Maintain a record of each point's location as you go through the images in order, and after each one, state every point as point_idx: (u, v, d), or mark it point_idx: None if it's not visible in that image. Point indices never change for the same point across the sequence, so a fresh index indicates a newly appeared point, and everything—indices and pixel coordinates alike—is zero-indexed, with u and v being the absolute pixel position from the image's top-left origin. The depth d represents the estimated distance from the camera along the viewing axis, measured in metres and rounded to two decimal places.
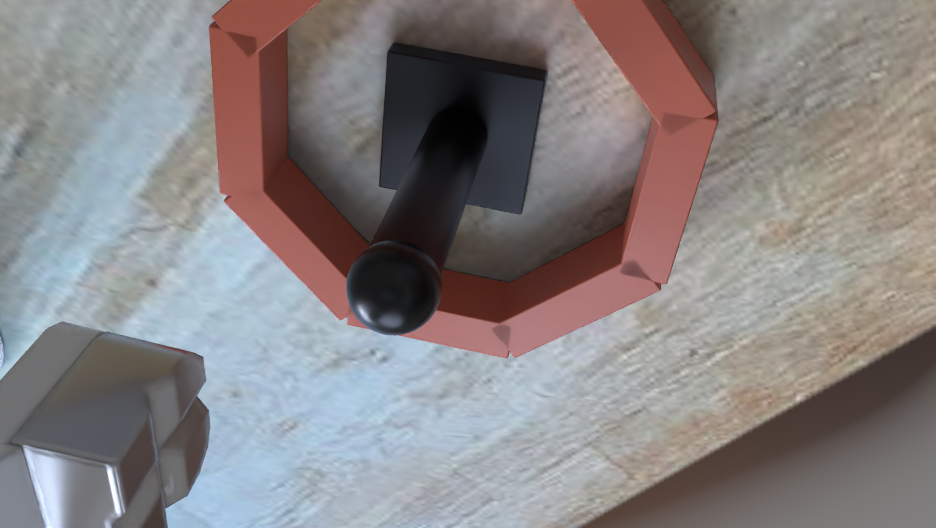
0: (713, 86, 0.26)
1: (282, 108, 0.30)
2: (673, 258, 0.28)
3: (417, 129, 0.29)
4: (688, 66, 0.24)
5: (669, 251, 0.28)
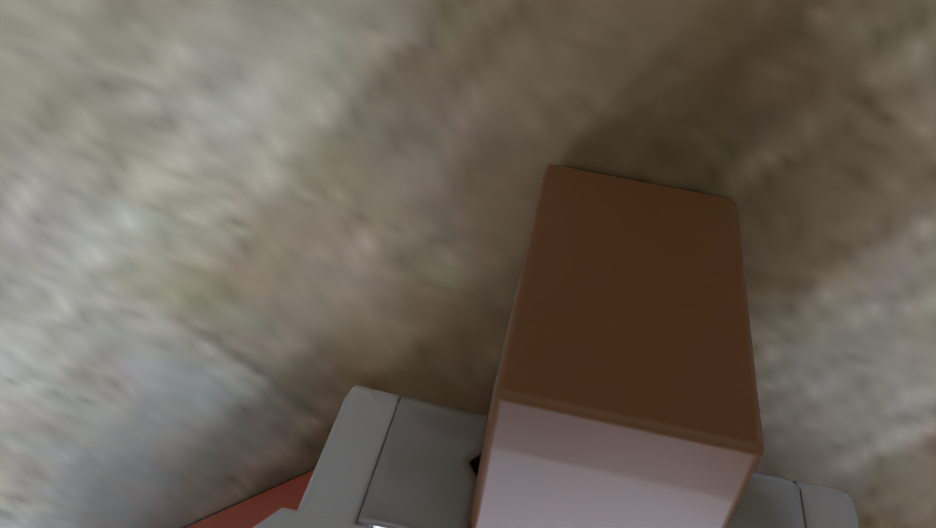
0: None
1: None
2: None
3: None
4: None
5: None
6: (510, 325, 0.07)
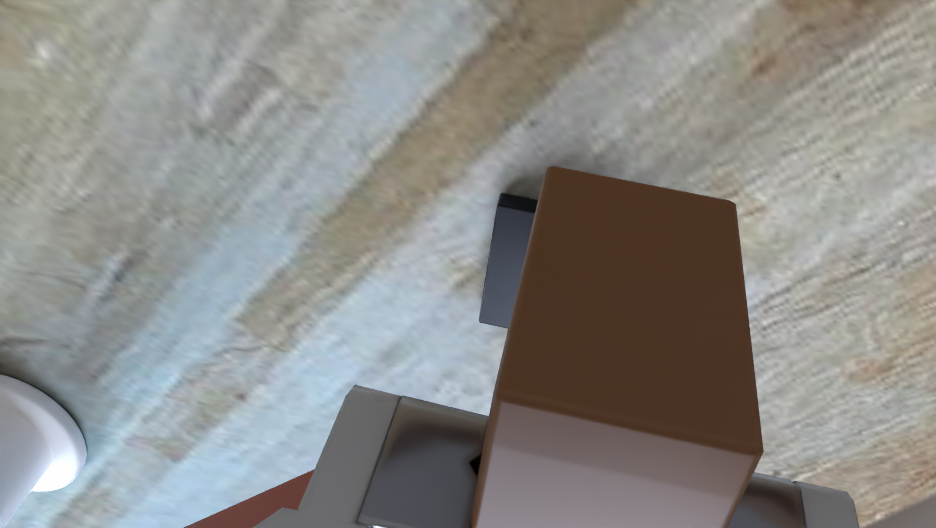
0: None
1: None
2: None
3: None
4: None
5: None
6: (511, 326, 0.07)
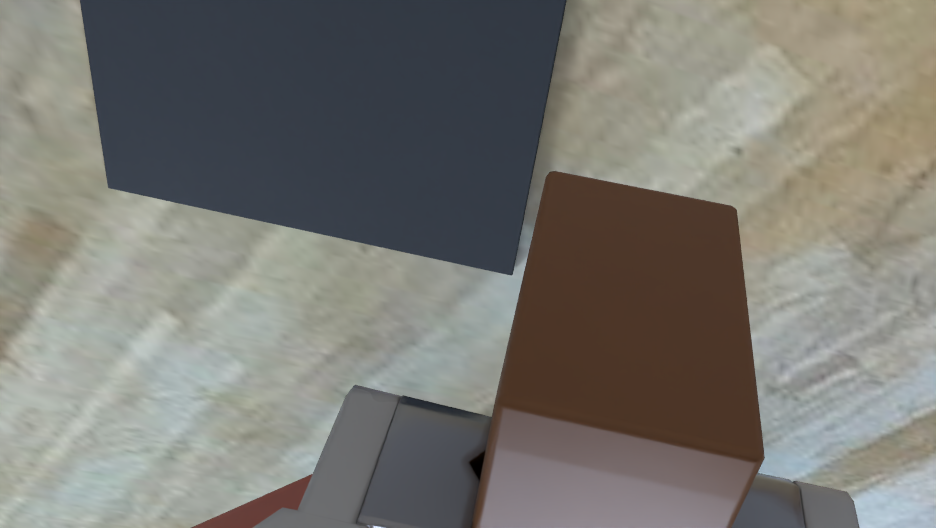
0: None
1: None
2: None
3: None
4: None
5: None
6: (512, 333, 0.07)
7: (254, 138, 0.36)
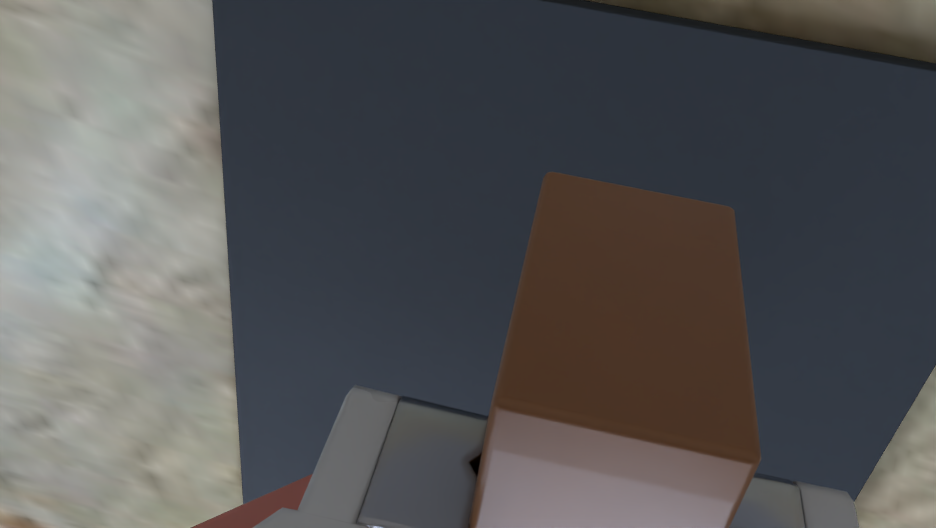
0: None
1: None
2: None
3: None
4: None
5: None
6: (509, 334, 0.07)
7: None
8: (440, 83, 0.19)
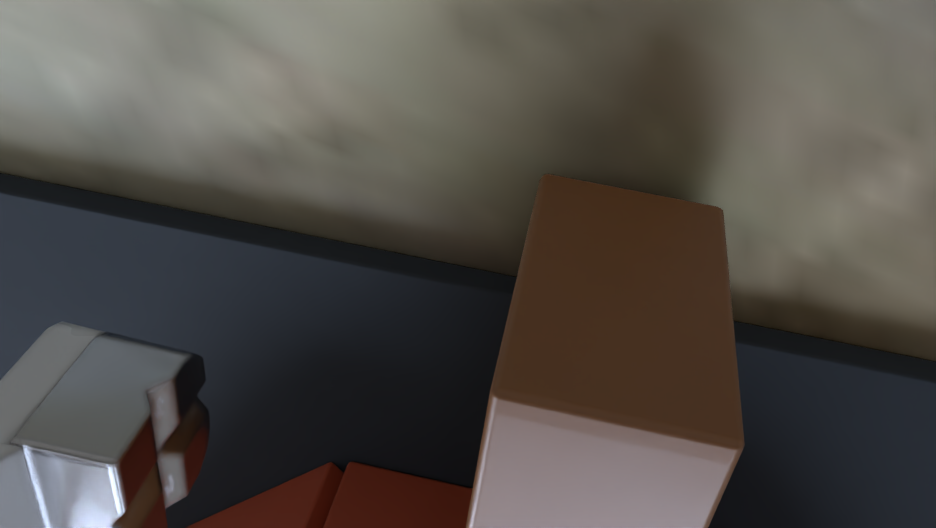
0: None
1: None
2: None
3: None
4: None
5: None
6: (507, 328, 0.08)
7: None
8: (297, 381, 0.12)
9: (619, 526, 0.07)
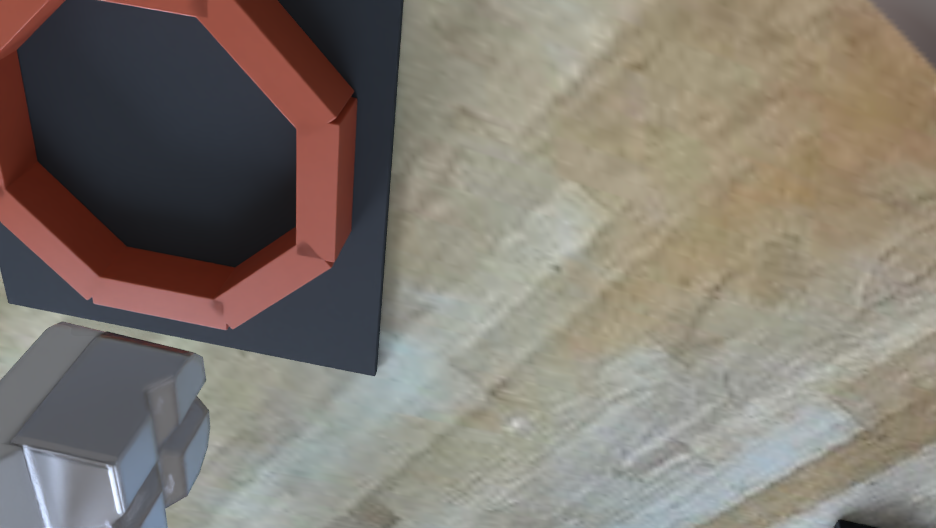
0: (345, 98, 0.32)
1: (21, 120, 0.36)
2: (334, 240, 0.34)
3: None
4: (307, 81, 0.31)
5: (329, 234, 0.34)
6: None
7: None
8: None
9: None
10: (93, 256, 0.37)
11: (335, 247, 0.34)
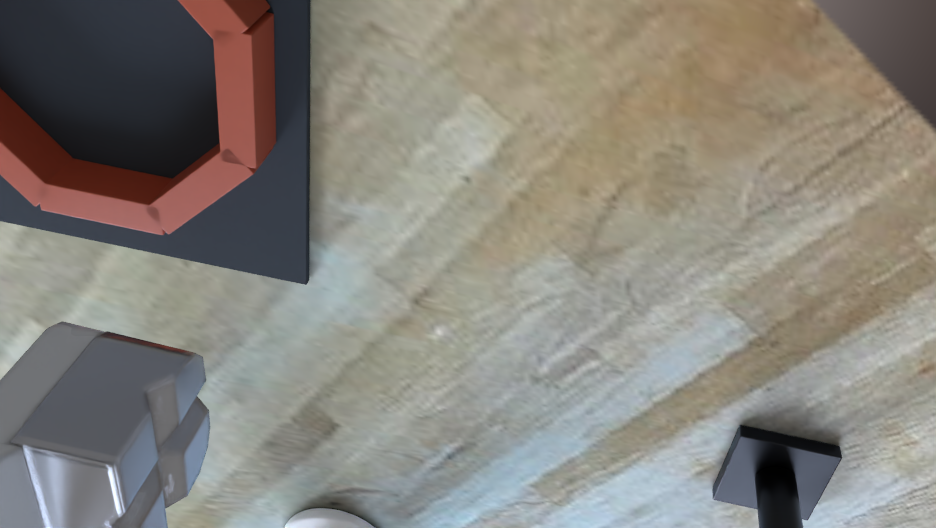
0: (259, 11, 0.35)
1: None
2: (254, 146, 0.37)
3: (749, 473, 0.45)
4: None
5: (250, 141, 0.37)
6: None
7: None
8: None
9: None
10: (39, 165, 0.40)
11: (256, 154, 0.37)
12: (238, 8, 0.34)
